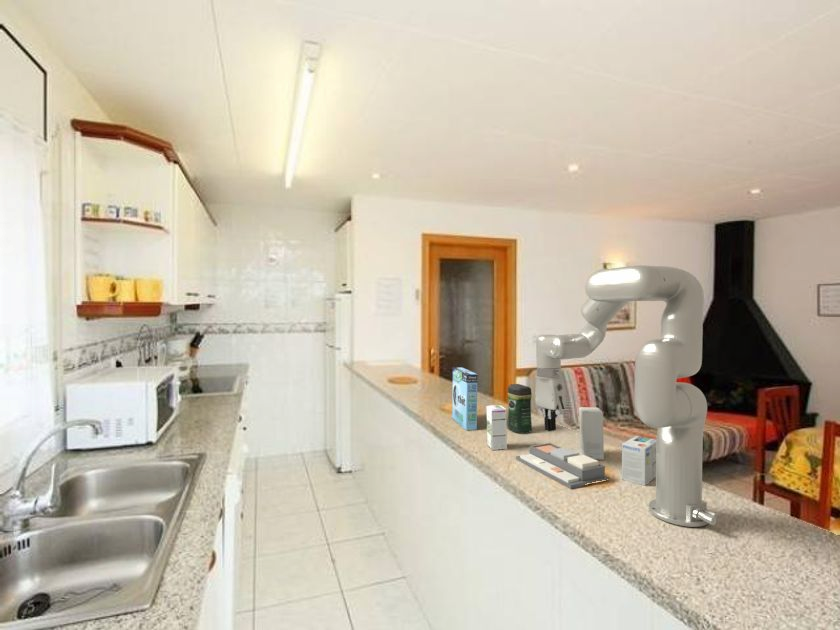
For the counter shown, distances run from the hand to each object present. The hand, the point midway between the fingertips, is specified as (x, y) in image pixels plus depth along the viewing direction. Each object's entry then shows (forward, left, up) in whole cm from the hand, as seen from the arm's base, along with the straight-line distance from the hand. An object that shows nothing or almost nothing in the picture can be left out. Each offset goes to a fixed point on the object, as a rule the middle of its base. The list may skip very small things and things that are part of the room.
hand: (550, 430), depth 141 cm
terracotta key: (+1, 0, -9) cm, 9 cm away
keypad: (-7, +2, -10) cm, 12 cm away
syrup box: (+19, +8, -10) cm, 23 cm away
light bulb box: (-21, -15, -10) cm, 28 cm away
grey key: (-7, 0, -7) cm, 10 cm away
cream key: (-14, 0, -7) cm, 16 cm away
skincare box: (-1, -16, -10) cm, 19 cm away
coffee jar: (+33, -12, -10) cm, 36 cm away
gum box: (+50, +4, -10) cm, 51 cm away
